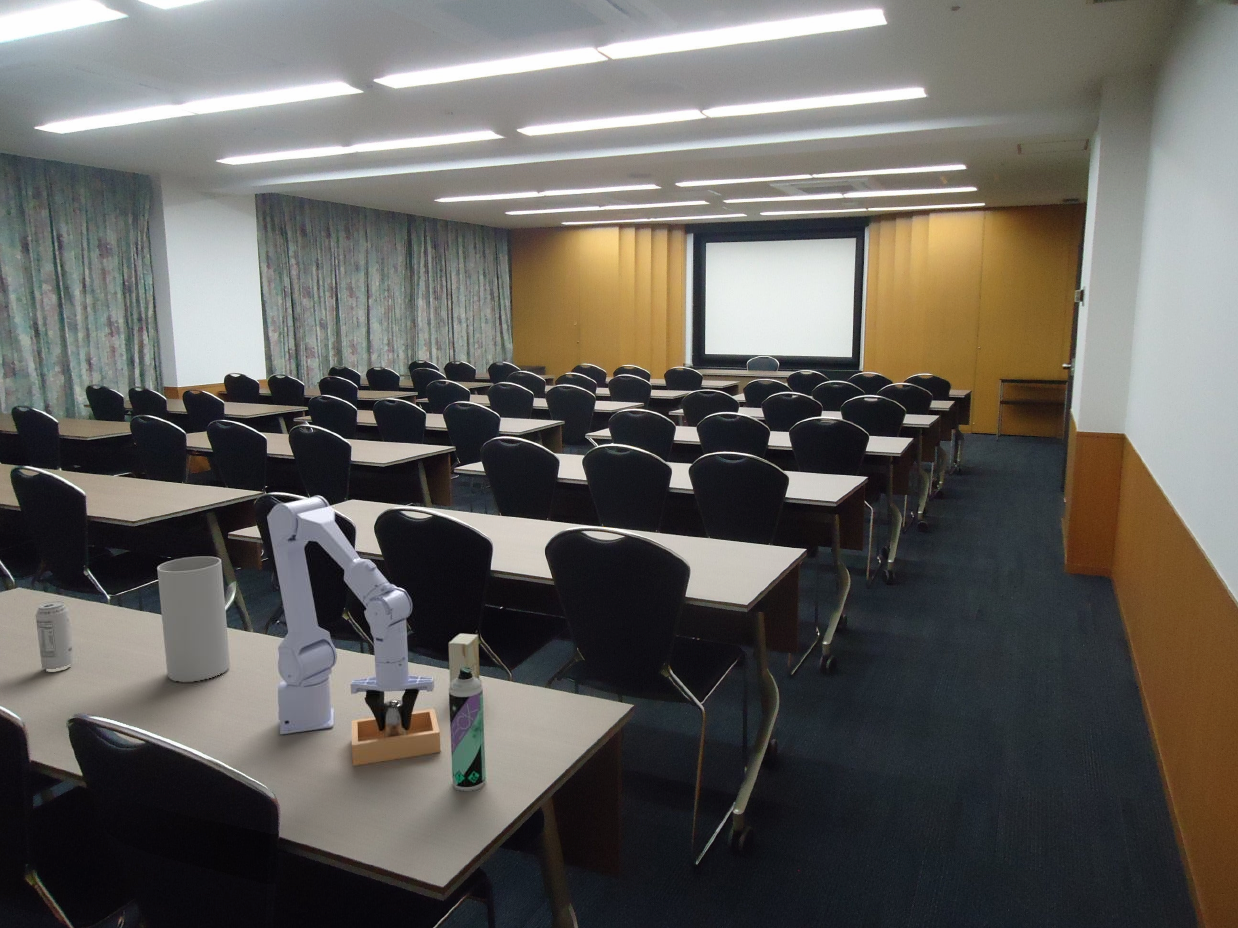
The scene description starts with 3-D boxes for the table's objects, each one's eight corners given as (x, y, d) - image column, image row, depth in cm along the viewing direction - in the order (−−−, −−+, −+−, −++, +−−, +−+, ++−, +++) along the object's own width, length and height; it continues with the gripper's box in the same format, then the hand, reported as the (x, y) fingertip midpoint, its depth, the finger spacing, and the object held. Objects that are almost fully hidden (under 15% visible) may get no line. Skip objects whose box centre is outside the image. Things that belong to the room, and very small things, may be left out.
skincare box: (469, 701, 170) (467, 644, 168) (449, 700, 171) (447, 643, 169) (480, 688, 176) (479, 633, 174) (461, 687, 177) (459, 632, 175)
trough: (353, 765, 145) (351, 745, 144) (352, 739, 154) (351, 720, 154) (440, 751, 149) (439, 732, 149) (435, 727, 159) (434, 708, 158)
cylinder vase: (234, 674, 184) (225, 565, 180) (171, 688, 177) (160, 575, 173) (225, 657, 194) (216, 553, 191) (164, 669, 188) (154, 562, 184)
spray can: (454, 774, 142) (450, 663, 139) (487, 772, 142) (483, 661, 139) (450, 792, 136) (446, 676, 133) (484, 790, 137) (480, 675, 134)
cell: (381, 740, 150) (379, 705, 149) (387, 730, 154) (385, 696, 153) (403, 740, 150) (402, 705, 149) (409, 730, 154) (407, 696, 153)
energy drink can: (79, 666, 190) (72, 603, 187) (50, 675, 185) (42, 610, 182) (66, 661, 193) (59, 598, 191) (37, 669, 188) (29, 606, 186)
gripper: (435, 647, 154) (438, 716, 156) (356, 649, 153) (360, 719, 155) (429, 662, 147) (432, 734, 149) (345, 664, 146) (350, 737, 148)
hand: (395, 728), depth 151 cm, fingers closed on cell, 4 cm apart
